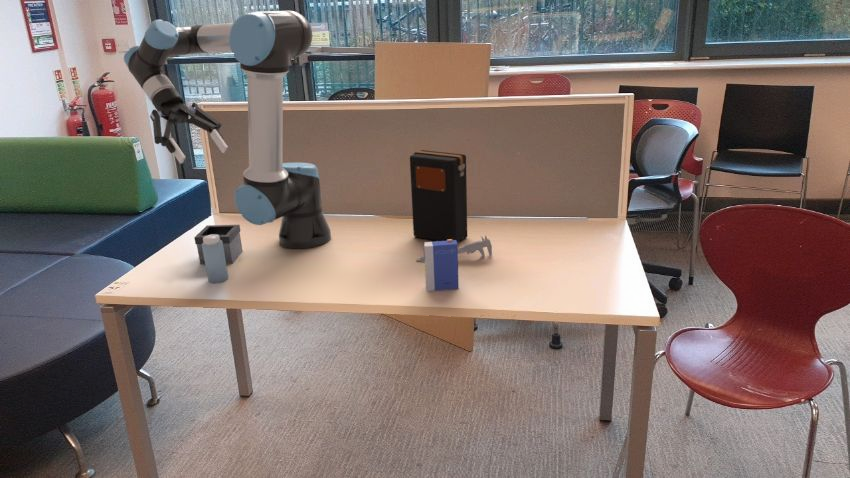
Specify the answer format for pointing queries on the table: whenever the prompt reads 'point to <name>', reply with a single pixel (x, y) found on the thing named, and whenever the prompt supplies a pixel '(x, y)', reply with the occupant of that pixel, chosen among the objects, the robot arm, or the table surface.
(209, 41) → the robot arm
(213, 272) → the white-capped blue bottle
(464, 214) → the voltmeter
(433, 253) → the walkman
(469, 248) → the caliper
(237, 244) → the square planter pot
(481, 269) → the table surface
